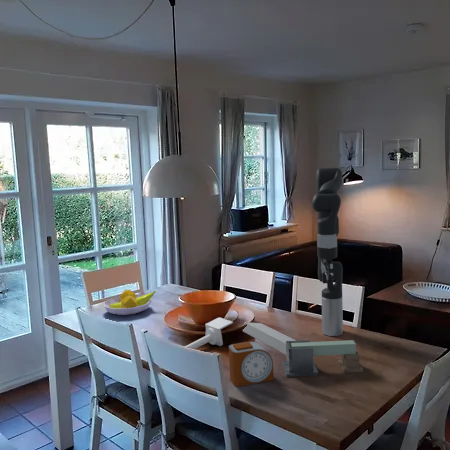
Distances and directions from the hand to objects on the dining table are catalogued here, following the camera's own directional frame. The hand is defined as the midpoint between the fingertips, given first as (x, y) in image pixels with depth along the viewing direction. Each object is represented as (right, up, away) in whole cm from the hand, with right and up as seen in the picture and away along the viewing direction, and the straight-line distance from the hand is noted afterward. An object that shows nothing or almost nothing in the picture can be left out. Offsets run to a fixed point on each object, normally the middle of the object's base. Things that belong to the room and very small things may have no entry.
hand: (327, 286), depth 182 cm
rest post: (+8, -31, -4) cm, 32 cm away
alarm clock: (-30, -33, -10) cm, 46 cm away
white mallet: (-51, -31, +20) cm, 63 cm away
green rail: (-3, -25, -5) cm, 26 cm away
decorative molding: (-19, -29, +27) cm, 43 cm away
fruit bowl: (-93, -25, +77) cm, 123 cm away
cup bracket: (-12, -31, -4) cm, 34 cm away
